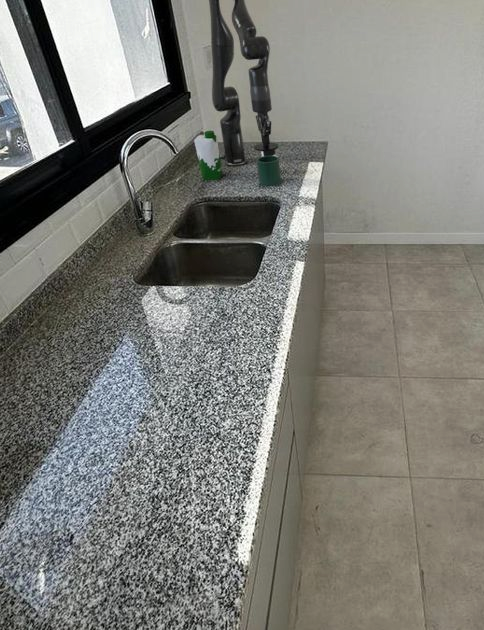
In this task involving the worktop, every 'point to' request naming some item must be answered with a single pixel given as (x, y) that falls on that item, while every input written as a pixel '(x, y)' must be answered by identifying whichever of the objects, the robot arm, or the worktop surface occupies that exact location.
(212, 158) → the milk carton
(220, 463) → the worktop surface
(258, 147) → the lid
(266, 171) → the tin
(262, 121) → the robot arm
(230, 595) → the worktop surface
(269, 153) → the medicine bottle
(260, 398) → the worktop surface
